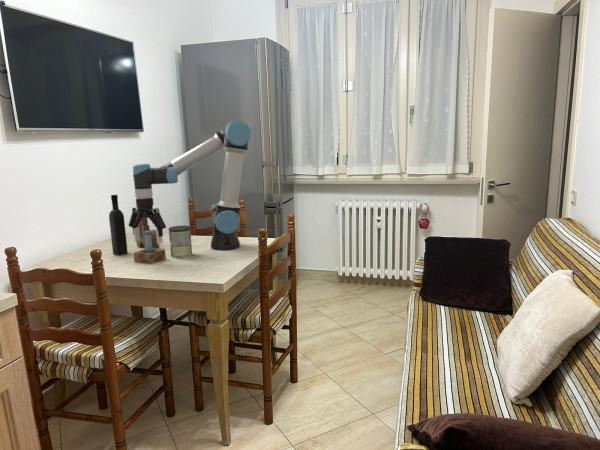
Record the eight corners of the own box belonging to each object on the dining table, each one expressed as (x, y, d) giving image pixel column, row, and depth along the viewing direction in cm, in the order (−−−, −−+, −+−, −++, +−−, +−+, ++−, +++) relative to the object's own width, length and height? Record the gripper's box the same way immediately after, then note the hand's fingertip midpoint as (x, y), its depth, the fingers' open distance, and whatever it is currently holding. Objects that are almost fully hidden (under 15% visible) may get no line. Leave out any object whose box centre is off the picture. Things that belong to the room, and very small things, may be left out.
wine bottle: (122, 251, 223) (116, 194, 217) (128, 253, 219) (122, 194, 214) (112, 254, 219) (105, 195, 213) (118, 255, 215) (111, 196, 210)
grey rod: (155, 259, 206) (152, 231, 203) (150, 261, 203) (147, 232, 201) (150, 259, 207) (147, 230, 205) (145, 260, 204) (142, 231, 202)
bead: (165, 258, 208) (164, 249, 207) (151, 263, 199) (150, 254, 198) (149, 256, 212) (148, 247, 211) (134, 262, 203) (133, 252, 202)
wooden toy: (160, 248, 229) (155, 201, 224) (147, 250, 225) (143, 202, 220) (147, 243, 240) (143, 199, 235) (135, 245, 236) (130, 200, 231)
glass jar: (167, 255, 212) (164, 227, 210) (185, 251, 220) (183, 224, 217) (177, 259, 205) (175, 230, 203) (196, 255, 212) (194, 227, 210)
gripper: (171, 197, 198) (175, 242, 202) (129, 195, 208) (134, 238, 212) (159, 199, 191) (164, 246, 195) (117, 197, 201) (122, 242, 205)
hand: (148, 242), depth 204 cm, fingers open, 13 cm apart
